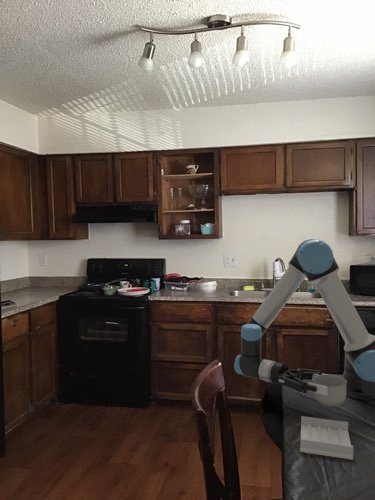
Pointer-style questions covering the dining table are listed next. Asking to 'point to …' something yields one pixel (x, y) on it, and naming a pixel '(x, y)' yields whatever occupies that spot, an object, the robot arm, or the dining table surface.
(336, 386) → the teacup
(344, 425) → the drying rack
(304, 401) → the dining table surface
